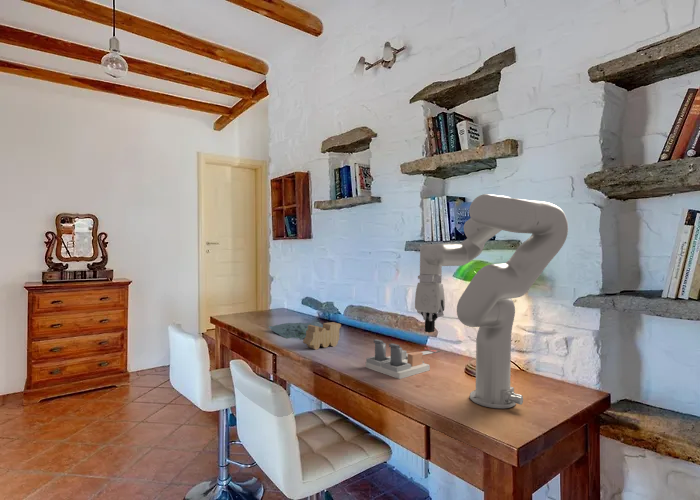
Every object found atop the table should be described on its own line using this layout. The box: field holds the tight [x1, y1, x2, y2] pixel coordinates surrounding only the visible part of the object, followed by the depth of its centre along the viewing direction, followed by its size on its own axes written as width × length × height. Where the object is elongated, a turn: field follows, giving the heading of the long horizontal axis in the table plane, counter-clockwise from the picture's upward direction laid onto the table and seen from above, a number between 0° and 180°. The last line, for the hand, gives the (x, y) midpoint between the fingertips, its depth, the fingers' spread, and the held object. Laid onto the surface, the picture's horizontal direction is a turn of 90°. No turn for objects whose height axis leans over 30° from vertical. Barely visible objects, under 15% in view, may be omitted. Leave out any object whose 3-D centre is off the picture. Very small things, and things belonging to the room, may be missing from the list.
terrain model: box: [268, 321, 323, 340], centre depth 207 cm, size 26×28×5 cm
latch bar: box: [407, 351, 424, 366], centre depth 145 cm, size 2×6×4 cm, turn 130°
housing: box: [365, 339, 431, 380], centre depth 146 cm, size 17×16×10 cm
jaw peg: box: [388, 343, 403, 367], centre depth 141 cm, size 5×4×8 cm
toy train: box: [302, 321, 342, 351], centre depth 178 cm, size 6×17×10 cm, turn 130°
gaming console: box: [404, 347, 441, 357], centre depth 169 cm, size 22×1×10 cm
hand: (429, 331), depth 140 cm, fingers closed
